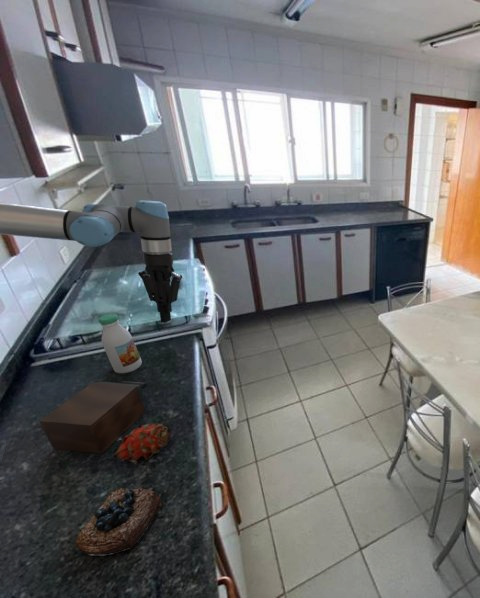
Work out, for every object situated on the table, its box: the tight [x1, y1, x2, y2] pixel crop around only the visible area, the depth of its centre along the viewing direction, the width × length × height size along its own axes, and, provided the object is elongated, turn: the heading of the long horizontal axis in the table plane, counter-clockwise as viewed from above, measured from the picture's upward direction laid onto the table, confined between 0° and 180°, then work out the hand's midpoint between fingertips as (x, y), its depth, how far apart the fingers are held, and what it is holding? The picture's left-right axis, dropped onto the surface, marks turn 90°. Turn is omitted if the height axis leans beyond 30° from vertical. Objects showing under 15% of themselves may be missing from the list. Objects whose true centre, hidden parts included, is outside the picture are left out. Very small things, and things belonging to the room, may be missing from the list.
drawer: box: [99, 380, 148, 409], centre depth 91 cm, size 18×11×8 cm, turn 177°
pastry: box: [75, 487, 163, 555], centre depth 67 cm, size 11×12×6 cm
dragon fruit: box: [112, 423, 172, 465], centre depth 82 cm, size 8×8×12 cm
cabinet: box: [39, 381, 146, 454], centre depth 87 cm, size 15×13×10 cm
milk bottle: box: [98, 313, 143, 374], centre depth 109 cm, size 8×8×20 cm
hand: (166, 321), depth 110 cm, fingers closed
